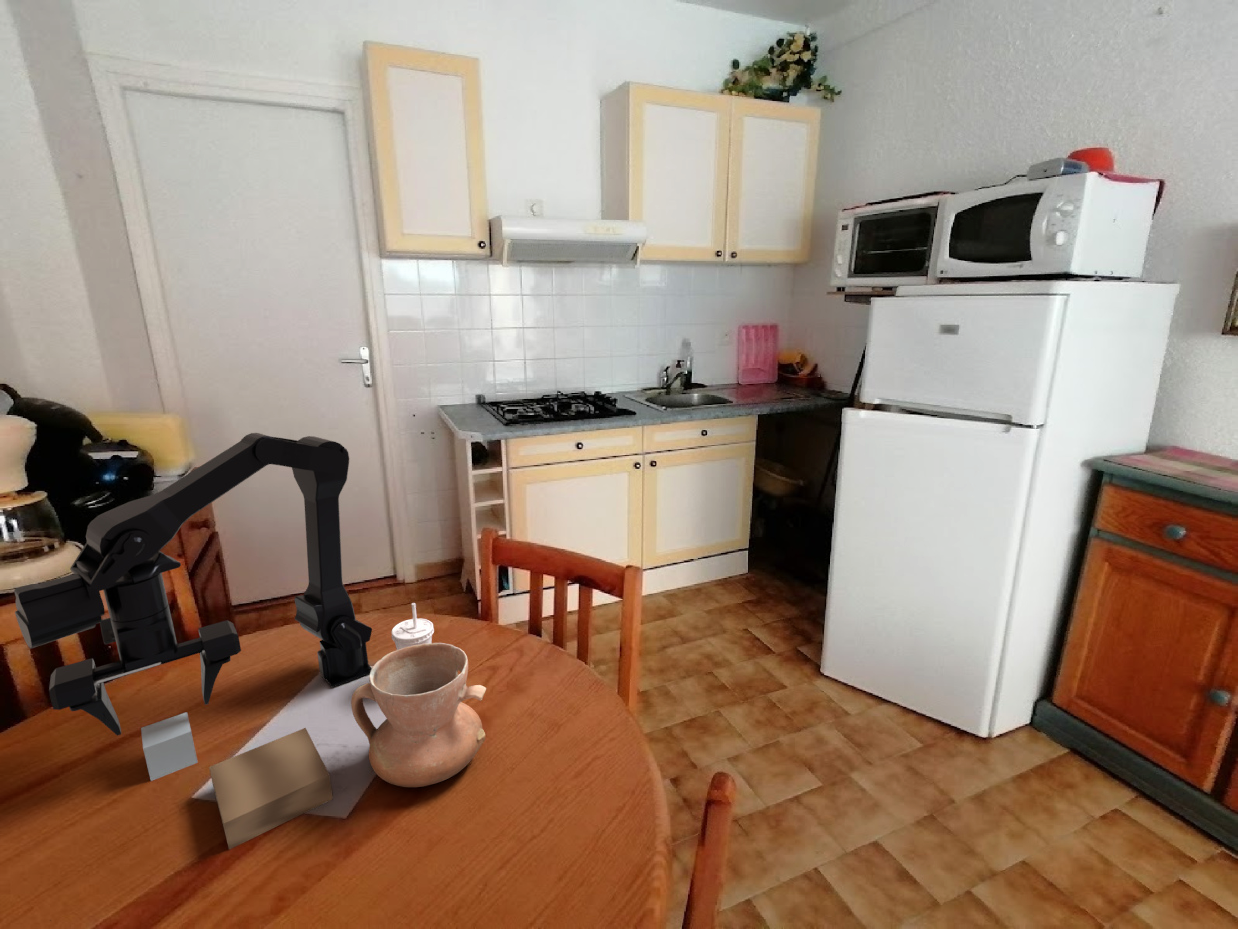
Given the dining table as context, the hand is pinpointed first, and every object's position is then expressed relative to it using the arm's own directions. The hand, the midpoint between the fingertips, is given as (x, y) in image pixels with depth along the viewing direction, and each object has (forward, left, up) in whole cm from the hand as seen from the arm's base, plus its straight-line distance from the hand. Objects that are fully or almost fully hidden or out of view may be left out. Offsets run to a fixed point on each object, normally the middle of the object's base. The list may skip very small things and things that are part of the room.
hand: (164, 717), depth 78 cm
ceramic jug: (-26, +21, -7) cm, 34 cm away
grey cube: (0, 0, -7) cm, 7 cm away
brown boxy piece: (-9, +15, -7) cm, 19 cm away
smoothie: (-32, +4, -7) cm, 33 cm away
